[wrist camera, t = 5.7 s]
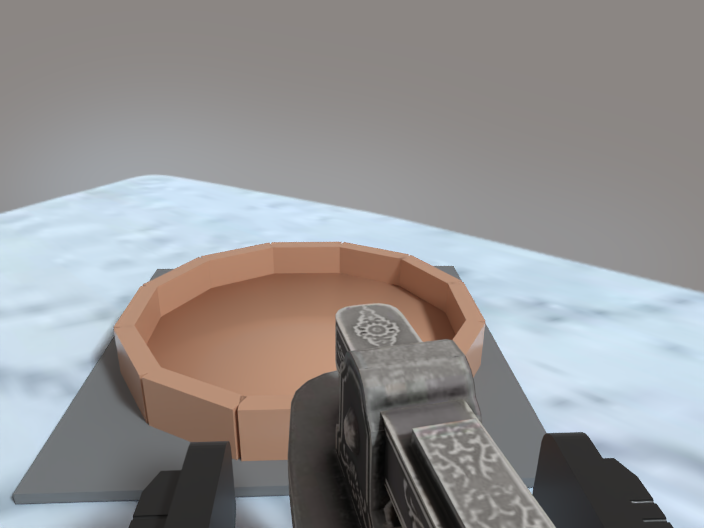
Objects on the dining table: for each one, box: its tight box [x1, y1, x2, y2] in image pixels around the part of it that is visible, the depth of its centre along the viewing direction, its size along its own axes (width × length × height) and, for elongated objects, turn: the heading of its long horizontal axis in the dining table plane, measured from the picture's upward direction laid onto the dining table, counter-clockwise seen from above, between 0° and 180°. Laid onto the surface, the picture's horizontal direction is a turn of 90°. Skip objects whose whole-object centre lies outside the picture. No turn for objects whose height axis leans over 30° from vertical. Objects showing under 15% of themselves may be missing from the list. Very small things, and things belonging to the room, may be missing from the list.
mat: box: [13, 266, 546, 504], centre depth 27 cm, size 18×18×1 cm
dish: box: [114, 242, 485, 461], centre depth 27 cm, size 16×16×2 cm
